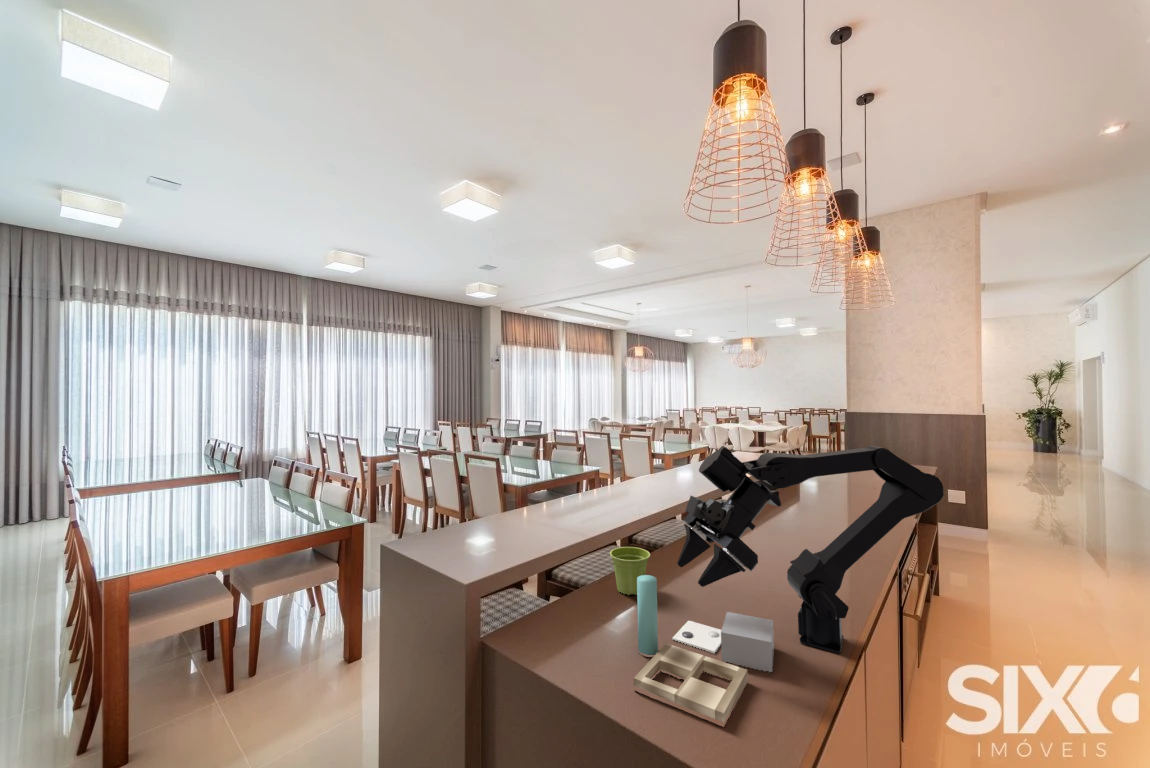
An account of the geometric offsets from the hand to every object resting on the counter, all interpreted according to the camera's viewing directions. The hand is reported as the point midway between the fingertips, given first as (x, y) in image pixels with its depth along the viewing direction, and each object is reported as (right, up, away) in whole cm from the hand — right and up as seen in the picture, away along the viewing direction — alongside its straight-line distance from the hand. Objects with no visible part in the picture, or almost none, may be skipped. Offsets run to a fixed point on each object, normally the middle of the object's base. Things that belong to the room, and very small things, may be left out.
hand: (688, 574), depth 84 cm
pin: (-8, -13, -2) cm, 15 cm away
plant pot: (-8, -14, +24) cm, 29 cm away
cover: (+10, -13, -3) cm, 16 cm away
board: (-2, -13, -11) cm, 17 cm away
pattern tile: (+3, -13, +3) cm, 14 cm away
